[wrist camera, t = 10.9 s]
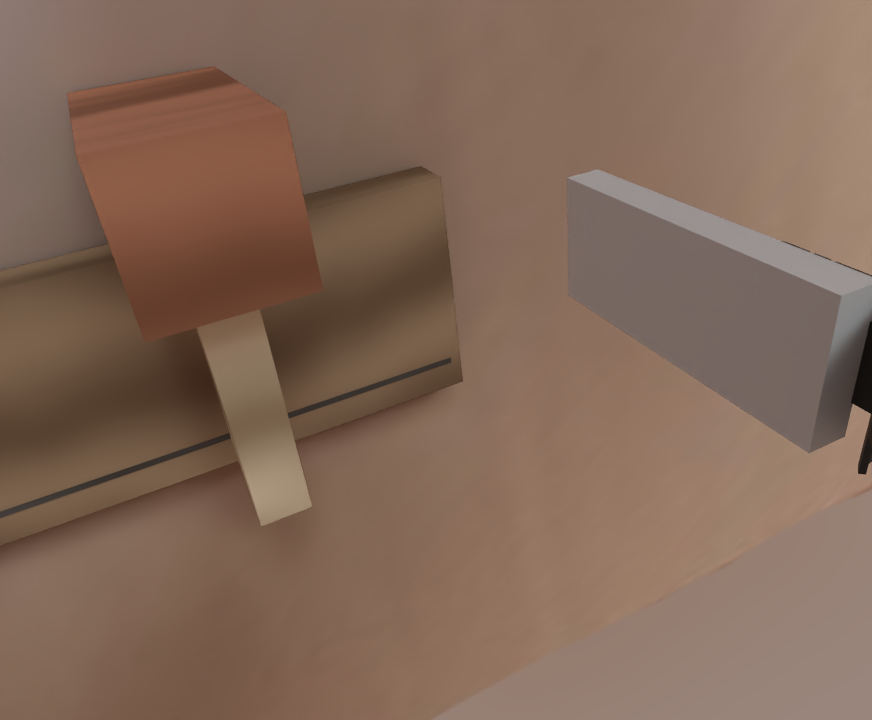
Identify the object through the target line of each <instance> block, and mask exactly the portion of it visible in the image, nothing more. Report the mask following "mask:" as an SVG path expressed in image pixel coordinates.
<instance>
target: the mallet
mask: <svg viewBox="0 0 872 720" xmlns="http://www.w3.org/2000/svg"><path fill="white" fill-rule="evenodd" d="M67 96H68V103H69V110H70V117H71V124H72V131H73V138H74V145H75V151H76V157H77V159H78V162H79V165H80V168H81V170H82V173H83V176H84V179H85V181H86V184H87V187H88V189H89V192H90V195H91V198H92V200H93V203H94V206H95V208H96V211H97V214H98V217H99V219H100V222H101V225H102V227H103V230H104V233H105V236H106V238H107V241H108V244H109V247H110V249H111V252H112V255H113V257H114V260H115V263H116V266H117V268H118V271H119V274H120V276H121V279H122V282H123V285H124V287H125V290H126V293H127V295H128V298H129V301H130V304H131V306H132V309H133V312H134V315H135V317H136V320H137V323H138V325H139V328H140V331H141V334H142V336H143V339H144V342H145V343H146V342H149V341H153V340H156V339H159V338H163V337H166V336H170V335H173V334H177V333H180V332H183V331H187V330H190V329H194V328H196V330H197V333H198V336H199V339H200V342H201V345H202V348H203V352H204V355H205V358H206V361H207V364H208V367H209V370H210V373H211V376H212V380H213V383H214V386H215V389H216V392H217V395H218V398H219V401H220V404H221V408H222V411H223V414H224V417H225V420H226V423H227V426H228V429H229V432H230V436H231V439H232V442H233V445H234V448H235V451H236V454H237V457H238V460H239V464H240V467H241V470H242V473H243V476H244V479H245V482H246V485H247V488H248V492H249V495H250V497H251V500H252V503H253V505H254V508H255V511H256V513H257V516H258V519H259V521H260V524H261V526H264V525H266V524H269V523H272V522H274V521H277V520H279V519H282V518H285V517H287V516H290V515H292V514H295V513H297V512H300V511H303V510H305V509H308V508H310V507H312V504H311V501H310V497H309V493H308V489H307V485H306V482H305V478H304V474H303V470H302V467H301V463H300V459H299V455H298V451H297V448H296V444H295V440H294V436H293V433H292V429H291V425H290V421H289V418H288V414H287V410H286V406H285V402H284V399H283V395H282V391H281V387H280V384H279V380H278V376H277V372H276V368H275V365H274V361H273V357H272V353H271V350H270V346H269V342H268V338H267V335H266V331H265V327H264V323H263V319H262V316H261V312H260V309H262V308H266V307H269V306H272V305H276V304H279V303H283V302H286V301H290V300H293V299H296V298H300V297H303V296H307V295H310V294H314V293H317V292H320V291H323V286H322V281H321V277H320V272H319V267H318V262H317V258H316V253H315V248H314V243H313V239H312V234H311V229H310V224H309V220H308V215H307V210H306V205H305V201H304V196H303V191H302V186H301V182H300V177H299V172H298V167H297V163H296V158H295V153H294V148H293V144H292V139H291V134H290V129H289V125H288V120H287V115H286V112H285V111H283V110H282V109H280V108H279V107H277V106H276V105H274V104H272V103H271V102H269V101H268V100H266V99H264V98H263V97H261V96H260V95H258V94H257V93H255V92H253V91H252V90H250V89H249V88H247V87H246V86H244V85H242V84H241V83H239V82H238V81H236V80H235V79H233V78H231V77H230V76H228V75H227V74H225V73H223V72H222V71H220V70H219V69H217V68H216V67H214V66H213V67H208V68H202V69H197V70H191V71H186V72H180V73H175V74H170V75H164V76H159V77H153V78H148V79H142V80H137V81H131V82H126V83H120V84H115V85H109V86H104V87H98V88H93V89H87V90H82V91H76V92H71V93H67Z"/></svg>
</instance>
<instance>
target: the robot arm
mask: <svg viewBox="0 0 872 720" xmlns="http://www.w3.org/2000/svg"><path fill="white" fill-rule="evenodd" d="M567 206H568V282H569V296H570V297H572V298H573V299H575V300H576V301H578V302H579V303H581V304H582V305H584V306H585V307H587V308H588V309H590V310H591V311H593V312H594V313H596V314H598V315H599V316H601V317H602V318H604V319H605V320H607V321H608V322H610V323H611V324H613V325H614V326H616V327H617V328H619V329H620V330H622V331H623V332H625V333H627V334H628V335H630V336H631V337H633V338H634V339H636V340H637V341H639V342H640V343H642V344H643V345H645V346H646V347H648V348H649V349H651V350H652V351H654V352H656V353H657V354H659V355H660V356H662V357H663V358H665V359H666V360H668V361H669V362H671V363H672V364H674V365H675V366H677V367H678V368H680V369H681V370H683V371H684V372H686V373H688V374H689V375H691V376H692V377H694V378H695V379H697V380H698V381H700V382H701V383H703V384H704V385H706V386H707V387H709V388H710V389H712V390H713V391H715V392H717V393H718V394H720V395H721V396H723V397H724V398H726V399H727V400H729V401H730V402H732V403H733V404H735V405H736V406H738V407H739V408H741V409H742V410H744V411H745V412H747V413H749V414H750V415H752V416H753V417H755V418H756V419H758V420H759V421H761V422H762V423H764V424H765V425H767V426H768V427H770V428H771V429H773V430H774V431H776V432H778V433H779V434H781V435H782V436H784V437H785V438H787V439H788V440H790V441H791V442H793V443H794V444H796V445H797V446H799V447H800V448H802V449H803V450H805V451H806V452H808V453H810V452H813V451H815V450H817V449H819V448H821V447H823V446H825V445H828V444H830V443H832V442H834V441H836V440H838V439H841V438H843V437H845V433H846V429H847V425H848V421H849V416H850V412H851V408H852V404H855V405H856V406H858V407H860V408H862V409H864V410H865V411H867V412H869V413H871V417H870V421H869V424H868V428H867V432H866V436H865V440H864V444H863V448H862V452H861V456H860V460H859V464H858V474H866V472H867V468H868V464H869V463H870V462H872V275H869V274H867V273H864V272H862V271H859V270H856V269H854V268H851V267H849V266H846V265H844V264H841V263H838V262H833V261H831V259H828V258H826V257H823V256H820V255H818V254H813V253H810V251H808V250H805V249H803V248H800V247H797V246H795V245H792V244H790V243H787V242H784V241H779V240H777V239H774V238H772V237H769V236H767V235H764V234H762V233H759V232H756V231H754V230H751V229H749V228H746V227H744V226H741V225H739V224H736V223H733V222H731V221H728V220H726V219H723V218H721V217H718V216H716V215H713V214H710V213H708V212H705V211H703V210H700V209H698V208H695V207H693V206H690V205H687V204H685V203H682V202H680V201H677V200H675V199H672V198H670V197H667V196H664V195H662V194H659V193H657V192H654V191H652V190H649V189H647V188H644V187H641V186H639V185H636V184H634V183H631V182H629V181H626V180H624V179H621V178H618V177H616V176H613V175H611V174H608V173H606V172H603V171H601V170H598V169H597V170H594V171H590V172H586V173H583V174H579V175H575V176H572V177H568V178H567Z"/></svg>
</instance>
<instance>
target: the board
mask: <svg viewBox="0 0 872 720" xmlns="http://www.w3.org/2000/svg"><path fill="white" fill-rule="evenodd" d="M303 196H304V201H305V205H306V210H307V215H308V220H309V224H310V229H311V234H312V239H313V243H314V248H315V253H316V258H317V262H318V267H319V272H320V277H321V281H322V286H323V291H320V292H317V293H314V294H310V295H307V296H303V297H300V298H296V299H293V300H290V301H286V302H283V303H279V304H276V305H272V306H269V307H266V308H262V309H260V312H261V316H262V319H263V323H264V327H265V331H266V335H267V338H268V342H269V346H270V350H271V353H272V357H273V361H274V365H275V368H276V372H277V376H278V380H279V384H280V387H281V391H282V395H283V399H284V402H285V406H286V410H287V414H288V418H289V421H290V425H291V429H292V433H293V436H294V440H295V441H296V440H299V439H302V438H305V437H308V436H311V435H313V434H316V433H319V432H322V431H325V430H327V429H330V428H333V427H336V426H339V425H341V424H344V423H347V422H350V421H353V420H355V419H358V418H361V417H364V416H367V415H370V414H372V413H375V412H378V411H381V410H384V409H386V408H389V407H392V406H395V405H398V404H400V403H403V402H406V401H409V400H412V399H415V398H417V397H420V396H423V395H426V394H429V393H431V392H434V391H437V390H440V389H443V388H445V387H448V386H451V385H454V384H457V383H459V382H462V381H463V378H462V369H461V360H460V350H459V341H458V332H457V323H456V314H455V304H454V295H453V286H452V277H451V267H450V258H449V249H448V240H447V231H446V221H445V212H444V203H443V194H442V184H441V177H439V176H437V175H436V174H434V173H432V172H430V171H428V170H427V169H425V168H423V167H421V166H420V167H416V168H412V169H408V170H404V171H400V172H396V173H392V174H388V175H384V176H380V177H376V178H372V179H368V180H364V181H360V182H356V183H352V184H348V185H343V186H339V187H335V188H331V189H327V190H323V191H319V192H315V193H311V194H307V195H303ZM237 461H239V460H238V457H237V454H236V451H235V448H234V445H233V442H232V439H231V436H230V432H229V429H228V426H227V423H226V420H225V417H224V414H223V411H222V408H221V404H220V401H219V398H218V395H217V392H216V389H215V386H214V383H213V380H212V376H211V373H210V370H209V367H208V364H207V361H206V358H205V355H204V352H203V348H202V345H201V342H200V339H199V336H198V333H197V330H196V328H194V329H190V330H187V331H183V332H180V333H177V334H173V335H170V336H166V337H163V338H159V339H156V340H153V341H149V342H146V343H145V342H144V339H143V336H142V334H141V331H140V328H139V325H138V323H137V320H136V317H135V315H134V312H133V309H132V306H131V304H130V301H129V298H128V295H127V293H126V290H125V287H124V285H123V282H122V279H121V276H120V274H119V271H118V268H117V266H116V263H115V260H114V257H113V255H112V252H111V249H110V247H109V244H105V245H101V246H97V247H93V248H89V249H85V250H81V251H77V252H73V253H69V254H65V255H61V256H57V257H53V258H49V259H45V260H41V261H37V262H33V263H29V264H25V265H21V266H17V267H13V268H9V269H5V270H1V271H0V546H1V545H4V544H7V543H10V542H13V541H15V540H18V539H21V538H24V537H27V536H29V535H32V534H35V533H38V532H41V531H43V530H46V529H49V528H52V527H55V526H58V525H60V524H63V523H66V522H69V521H72V520H74V519H77V518H80V517H83V516H86V515H88V514H91V513H94V512H97V511H100V510H103V509H105V508H108V507H111V506H114V505H117V504H119V503H122V502H125V501H128V500H131V499H133V498H136V497H139V496H142V495H145V494H147V493H150V492H153V491H156V490H159V489H162V488H164V487H167V486H170V485H173V484H176V483H178V482H181V481H184V480H187V479H190V478H192V477H195V476H198V475H201V474H204V473H207V472H209V471H212V470H215V469H218V468H221V467H223V466H226V465H229V464H232V463H235V462H237Z"/></svg>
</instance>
